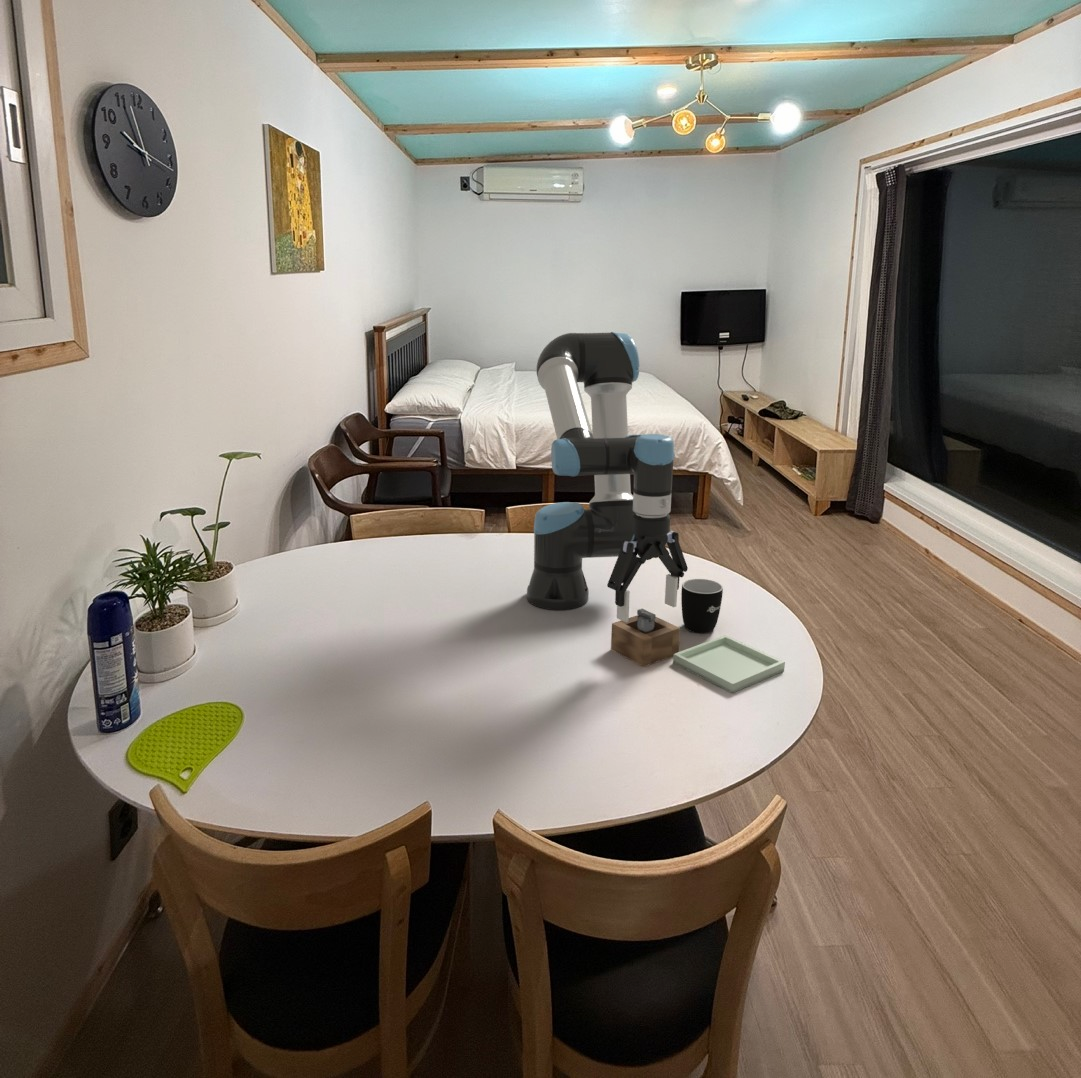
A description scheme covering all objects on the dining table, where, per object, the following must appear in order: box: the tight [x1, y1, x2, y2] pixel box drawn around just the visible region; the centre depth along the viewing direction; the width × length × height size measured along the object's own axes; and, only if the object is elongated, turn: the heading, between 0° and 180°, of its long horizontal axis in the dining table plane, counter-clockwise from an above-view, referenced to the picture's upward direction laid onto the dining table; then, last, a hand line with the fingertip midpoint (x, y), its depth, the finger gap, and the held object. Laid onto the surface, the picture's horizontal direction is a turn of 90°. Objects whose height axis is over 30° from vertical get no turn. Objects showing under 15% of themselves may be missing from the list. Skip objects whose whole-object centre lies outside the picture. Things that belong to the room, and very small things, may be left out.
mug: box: [680, 578, 724, 634], centre depth 180 cm, size 12×9×10 cm
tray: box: [672, 634, 786, 694], centre depth 162 cm, size 16×16×2 cm
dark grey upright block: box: [636, 608, 657, 634], centre depth 168 cm, size 4×4×9 cm
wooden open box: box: [610, 614, 681, 668], centre depth 168 cm, size 10×10×6 cm
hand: (647, 612), depth 166 cm, fingers open, 13 cm apart
